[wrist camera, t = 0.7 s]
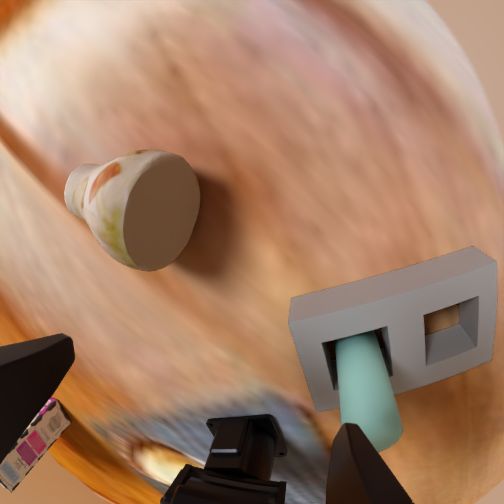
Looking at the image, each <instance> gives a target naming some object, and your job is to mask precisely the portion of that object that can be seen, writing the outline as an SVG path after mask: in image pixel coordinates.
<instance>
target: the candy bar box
mask: <svg viewBox="0 0 504 504" xmlns="http://www.w3.org/2000/svg"><path fill="white" fill-rule="evenodd" d="M70 424H71V422H70V420H69V418H68V417H67V415H66V414H65V412H64V410H63V409H62V407H61V405H60V404H59V402H58V400H56V399H53V398H50V399H49V400H48V401H47V403H46V404H45V405H44V406H43V408H42V409H41V410H40V412H39V413H38V414H37V416H36V417H35V418H34V419H33V421H32V422H31V423H30V425H29V426H28V427H27V429H26V430H25V431H24V433H23V434H22V435H21V437H20V438H19V439H18V441H17V442H16V444H15V445H14V446H13V448H12V449H11V450H10V452H9V453H8V455H7V456H6V457H5V459H4V460H3V462H2V463H1V465H0V484H1V485H2V486H3V487H4V488H5V489H7V490H8V491H9V492H11V493H12V492H13V490H14V489H15V488H16V487H17V486H18V485H19V483H20V482H21V481H22V480H23V478H24V477H25V476H26V475H27V474H28V473H29V471H30V470H31V469H32V468H33V467H34V465H35V464H36V463H37V462H38V461H39V460H40V458H41V457H42V456H43V455H44V454H45V453H46V451H47V450H48V449H49V448H50V447H51V446H52V444H53V443H54V442H55V441H56V440H57V439H58V438H59V436H60V435H61V434H62V433H63V432H64V431H65V429H66V428H67V427H68V426H69V425H70Z"/></svg>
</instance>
